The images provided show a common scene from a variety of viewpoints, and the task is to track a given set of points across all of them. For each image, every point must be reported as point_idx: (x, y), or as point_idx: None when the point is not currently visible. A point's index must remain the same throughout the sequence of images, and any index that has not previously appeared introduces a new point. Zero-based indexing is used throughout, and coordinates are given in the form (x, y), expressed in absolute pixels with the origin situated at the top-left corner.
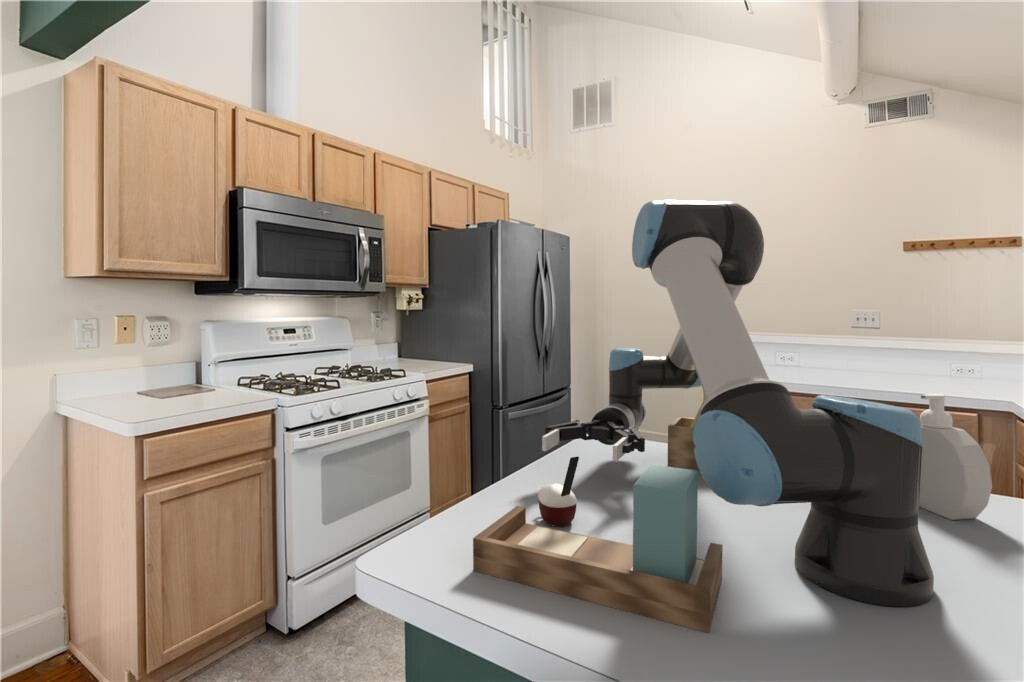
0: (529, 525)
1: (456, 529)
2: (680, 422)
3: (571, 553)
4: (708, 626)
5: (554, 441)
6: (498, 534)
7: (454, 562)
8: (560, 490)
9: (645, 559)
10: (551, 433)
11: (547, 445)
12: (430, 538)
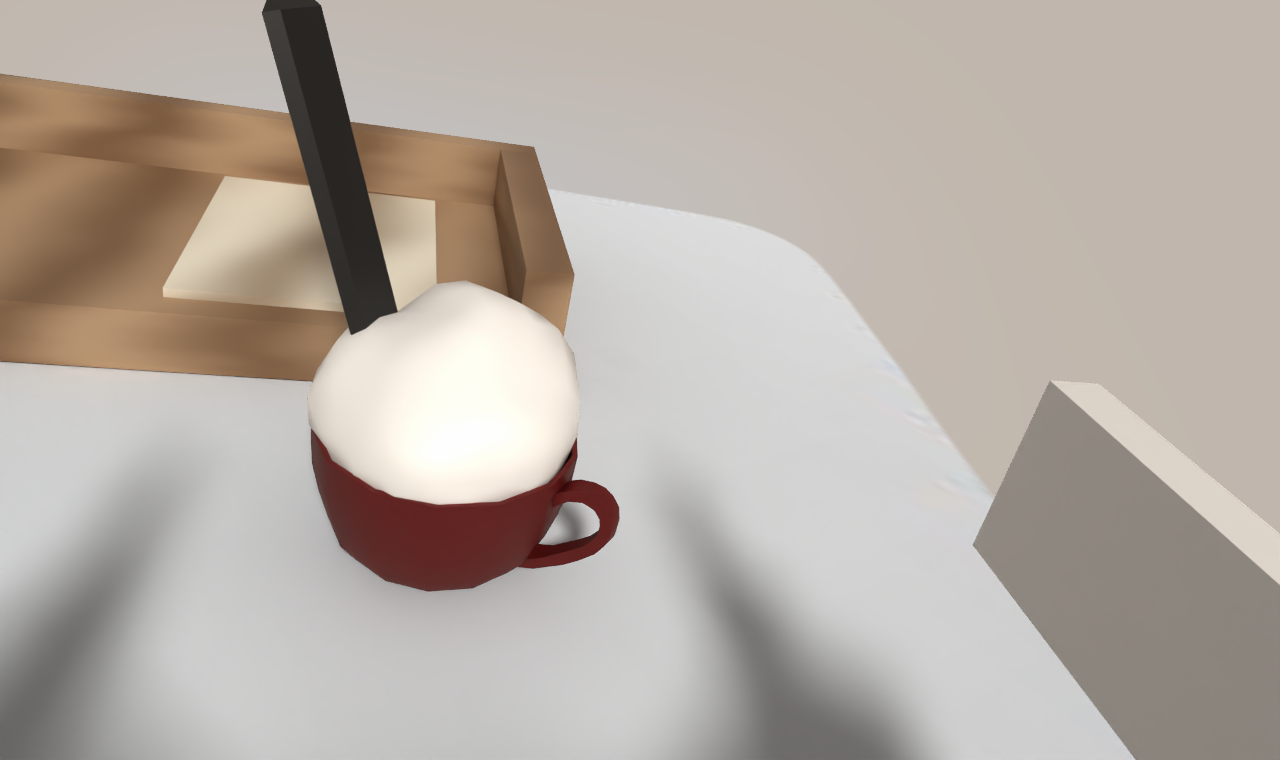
0: None
1: (785, 374)
2: None
3: (211, 216)
4: None
5: (1214, 753)
6: (503, 198)
7: (600, 260)
8: (416, 312)
9: None
10: (1230, 532)
11: (1031, 532)
12: (787, 322)
